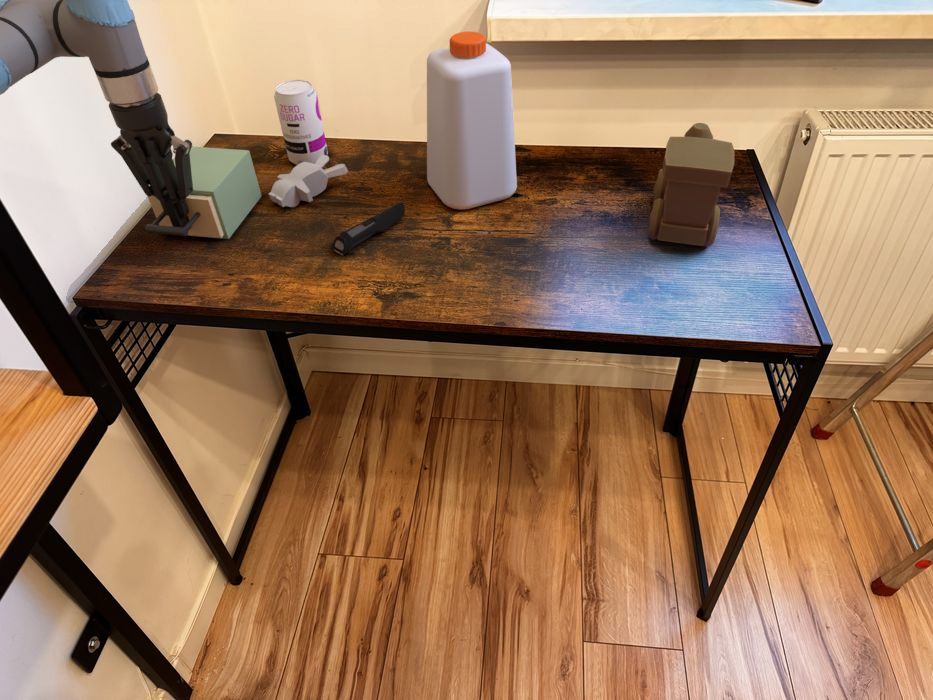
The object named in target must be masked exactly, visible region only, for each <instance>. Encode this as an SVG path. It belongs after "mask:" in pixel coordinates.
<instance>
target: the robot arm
mask: <svg viewBox="0 0 933 700" xmlns="http://www.w3.org/2000/svg"><path fill="white" fill-rule="evenodd" d="M131 8H132V7H131V6H130V4H129V1H128V0H0V96H1V95H3V94H4V93H6V91H8V90H9V89H10V88H11V87H13V86H14V85H16V84H17V83H19V82H20V81H21V80H23V79H24V78H26V77H27V76H28V75H31V74H33V73H34V72H37V70H39V69H40V68H43V67H44V66H46V65H47V64H48V63H50V62H52V61H53V60H54V59H57V58H61V57H62V58H88V59H89V62H90V65H91V67H92V69H93V71H94V73H95V76H96V79H97V81H98V83H99V86H100V89H101V92H102V94H103V96H104V100H106V102H108V108H109V111H110V113H111V116H112V118H113V121H114V123H115V126H116V127H117V128H118V129H120V130H119V134H120V135H119V136H118V137H116V138H115V139H113V141H111V142H110V146H111V148H112V149H114V150H115V151H116V152H117V154H118V155H120V156H121V158H122V160H123V162H124V163H125V164H126V166H127V168H128V170H129V171H130V172H131V174H132V176H133V177H134V179H135V180H136V182H137V183H138V185H139V187H140V188H141V190H142V191H143V193H144V194H145V195H146V196H147V197H148V196H155V197H156V198H157V199H158V200H159V201H160V203H161V206H162V208H163V211H164V213H165V214H166V216H169V218H170V220H171V223H172V225H173V227H184V226H185V225H186V224H187V223H188V222H189V218H188V216H187V214H188V213H189V209H188V206H187V203H186V200H185V199H186V198H187V197H188V196H189V195H190V194H191V192H192V191H193V183H192V173H191V164H190V154H189V153H190V150H191V147H192V146H193V142H192V140H190V139H184V140H182V139H181V138H179V137H178V136H176V133H175V131H174V130H173V128H171V126H170V124H169V120H168V119H169V118H168V117H169V116H168V112H167V109H166V105H165V102H164V101H163V98H162V95H161V94H160V93H159V87H158V83H157V81H156V78H155V75H154V73H153V69H152V67H151V64H150V61H149V58H148V56H147V54H146V51H145V47H144V44H143V41H142V38H141V34H140V32H139V29H138V25H137V22H136V18H135V14H134V11H133V9H131ZM173 155H174V158H175V164H174V162H173V159H174V158H173ZM175 166H176V167H175ZM149 185H150V187H149ZM190 228H191V227H190ZM190 228H189V229H188V231H189V230H190Z"/></svg>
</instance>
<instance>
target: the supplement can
mask: <svg viewBox="0 0 933 700" xmlns="http://www.w3.org/2000/svg"><path fill="white" fill-rule="evenodd" d="M273 98H274V103H275V107H276V111H277V115H278V119H279V120H278V121H279V124H280V129H281V133H282V137H283V142H284V146H285V150H286V154H287V158H288V161H289V162H291V163H292V164H293V165H295V166H297V165H298V164H300V163H302V162H308V163H313V164H315V163H316V162H317V160H318V159H319V157H320V156H322V155H327V156H328V154H329V152H328V146H327V141H326V136H325V130H324V125H323V119H322V114H321V108H320V103H319V100H318V99H319V98H318V92H317V91H316V89H315V87H314V86H313V85H312V83H311V82H310V81H309V80H305V79H291V80H287V81H283V82H281V83H279V84H278V85H276V87H275V91H274V95H273Z"/></svg>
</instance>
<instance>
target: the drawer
mask: <svg viewBox="0 0 933 700" xmlns="http://www.w3.org/2000/svg"><path fill="white" fill-rule="evenodd" d="M147 198H148V202H149V203H150V206H151V208H152V211H153V213H154V216H155V220H153V222H152V223H150V224H149V223H148V224H146V225H145V226H144V230H145V232H146V233H149V234H157V235H166V236H167V235H168V236H169V235H170V236H179V237H187V236H191V237H202V238H213V239H223V238H222V237H223V235H224V233H223V230H222V227H221V224H220V221H219V218H218V215H217V212H216V209H215V206H214V203H213V200H212V197H211V196H210V195H208V196H200V195H189V196H188V197H187V198H186V199H185V200H186V203H187V206H188V209H189V213H188V214H187V216H188V218H189V222H188V223H187V224H186V225H185V226H184V227H173V225H172V223H171V220H170V218H169V216H166V214H165V213H164V211H163V208H162V206H161V203H160V201H159V200H158V199H157V198H156V197H155V196H147ZM190 227H191V228H190ZM189 228H190V230H189V231H188V229H189Z"/></svg>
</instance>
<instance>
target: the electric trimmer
mask: <svg viewBox="0 0 933 700" xmlns="http://www.w3.org/2000/svg"><path fill="white" fill-rule="evenodd" d="M405 208H406V207H405V203H404V202H403V201H400V202H398V203H396V204H394V205H392V206H390V207H389V208H387V209H385V210H383V211H381V212H379V213H377V214H376V215H373V216H372V217H370V218H367V219H365V220H363V221H361V222H360V223H357V224H356V225H354V226H353V227H350V228H349V229H347V230H345V231H342V232H341V233H339V235H337V236H336V237H335V238H334V240H333V243H332V249H333V251H335V252H336V253H337V254H340V255H341V256H344V255H349V254H351V251H352V248H354V247H356V246H357V245H359V244H360V243H362V242H364V241H366V240H367V239H369V238H370V237H372V236H373V235H375V234H381V233H384V232H385V231H386V230H388V229H389V228H391V227H392V226H393V225H394V224H395V223H397V222H398V221H399V220H400V219H402V218H403V217H404V216H405V215H406V209H405Z"/></svg>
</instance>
